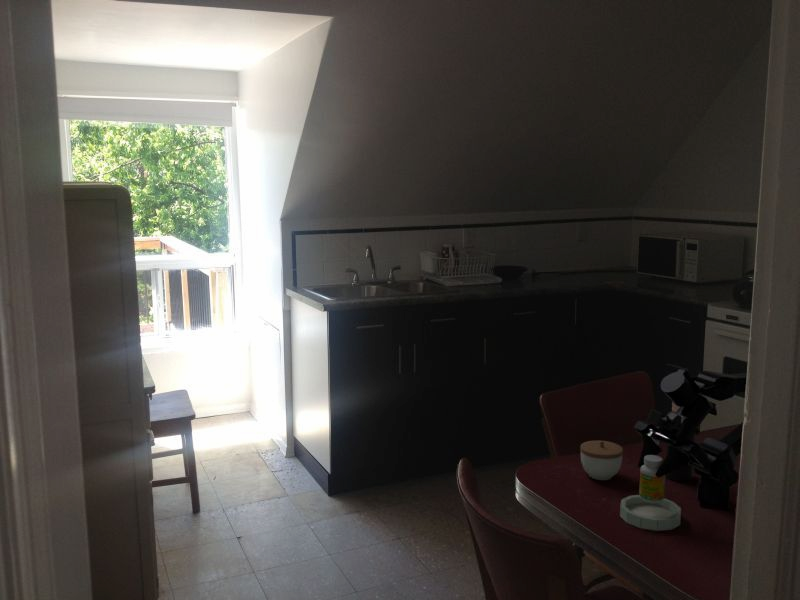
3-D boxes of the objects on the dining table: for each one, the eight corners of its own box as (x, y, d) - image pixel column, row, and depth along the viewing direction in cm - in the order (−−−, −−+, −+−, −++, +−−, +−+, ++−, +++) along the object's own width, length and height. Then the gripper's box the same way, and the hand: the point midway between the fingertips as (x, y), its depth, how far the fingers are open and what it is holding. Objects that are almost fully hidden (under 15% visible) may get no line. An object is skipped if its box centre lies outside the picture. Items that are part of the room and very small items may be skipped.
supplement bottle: (637, 501, 168) (639, 460, 166) (640, 491, 173) (642, 452, 171) (662, 505, 166) (665, 464, 164) (664, 495, 170) (667, 455, 169)
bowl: (680, 509, 173) (680, 499, 173) (680, 534, 161) (680, 523, 161) (622, 501, 178) (622, 491, 177) (618, 524, 166) (618, 514, 165)
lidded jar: (623, 485, 187) (625, 450, 186) (580, 482, 189) (581, 447, 188) (620, 469, 198) (621, 435, 196) (578, 466, 200) (579, 433, 198)
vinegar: (664, 480, 190) (668, 405, 187) (664, 470, 197) (668, 397, 194) (692, 483, 188) (697, 407, 185) (691, 473, 195) (696, 400, 191)
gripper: (641, 386, 175) (601, 438, 173) (700, 408, 158) (657, 466, 156) (666, 414, 179) (628, 464, 177) (726, 438, 162) (685, 495, 160)
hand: (648, 471), depth 167 cm, fingers closed on supplement bottle, 5 cm apart
